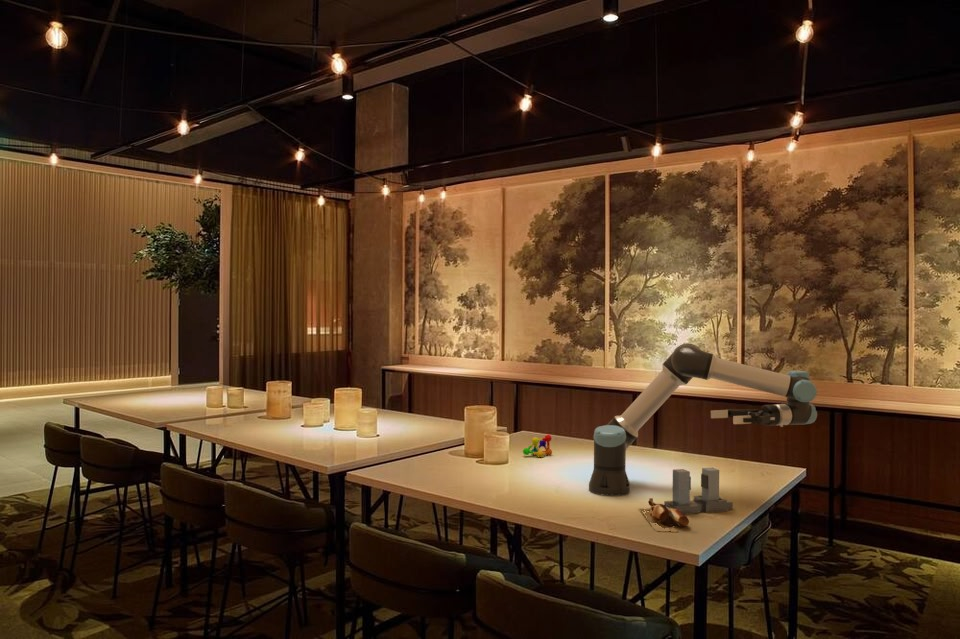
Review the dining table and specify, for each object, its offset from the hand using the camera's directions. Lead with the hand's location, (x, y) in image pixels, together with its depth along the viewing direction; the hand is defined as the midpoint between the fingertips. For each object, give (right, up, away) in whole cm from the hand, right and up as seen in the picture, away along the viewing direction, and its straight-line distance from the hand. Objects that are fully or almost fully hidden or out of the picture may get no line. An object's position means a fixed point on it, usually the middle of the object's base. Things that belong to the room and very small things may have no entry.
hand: (722, 417), depth 241 cm
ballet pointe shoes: (-26, -30, -22) cm, 46 cm away
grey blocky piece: (-11, -30, -10) cm, 33 cm away
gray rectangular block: (-7, -27, -9) cm, 30 cm away
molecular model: (-58, -29, +77) cm, 100 cm away
